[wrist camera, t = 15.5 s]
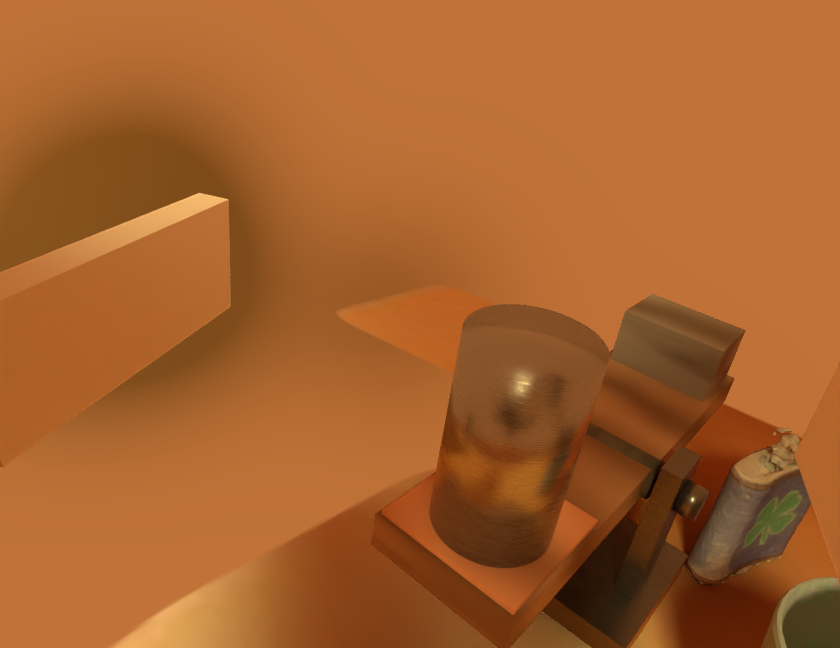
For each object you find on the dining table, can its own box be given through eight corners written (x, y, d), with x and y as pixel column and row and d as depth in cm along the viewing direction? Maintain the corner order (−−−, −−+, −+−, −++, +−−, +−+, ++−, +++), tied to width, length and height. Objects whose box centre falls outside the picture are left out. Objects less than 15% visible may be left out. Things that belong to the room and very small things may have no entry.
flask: (705, 592, 42) (768, 464, 37) (671, 559, 44) (726, 434, 40) (791, 555, 46) (858, 436, 42) (757, 526, 49) (816, 411, 44)
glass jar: (528, 471, 34) (573, 305, 29) (572, 563, 29) (636, 380, 24) (418, 476, 33) (447, 302, 28) (445, 573, 28) (486, 381, 23)
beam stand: (510, 465, 51) (542, 345, 46) (681, 571, 44) (740, 442, 38) (430, 527, 44) (457, 393, 39) (617, 666, 36) (681, 523, 31)
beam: (623, 356, 53) (645, 288, 50) (727, 404, 48) (759, 332, 46) (366, 543, 32) (380, 444, 29) (509, 660, 27) (542, 556, 24)
